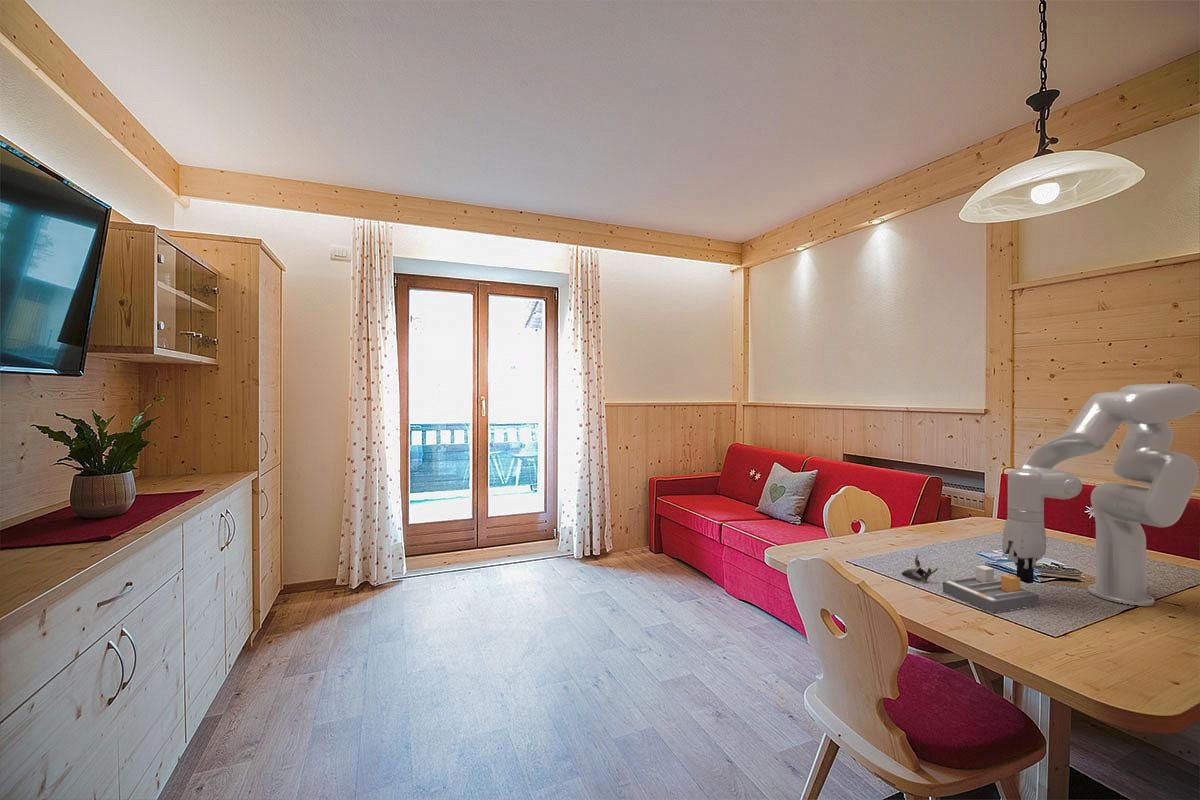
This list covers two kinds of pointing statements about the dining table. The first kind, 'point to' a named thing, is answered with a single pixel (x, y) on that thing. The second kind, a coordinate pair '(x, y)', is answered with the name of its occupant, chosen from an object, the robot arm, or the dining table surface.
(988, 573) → the white block
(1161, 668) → the dining table surface
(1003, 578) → the orange tab
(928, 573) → the eagle figurine
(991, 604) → the grey slotted tray
